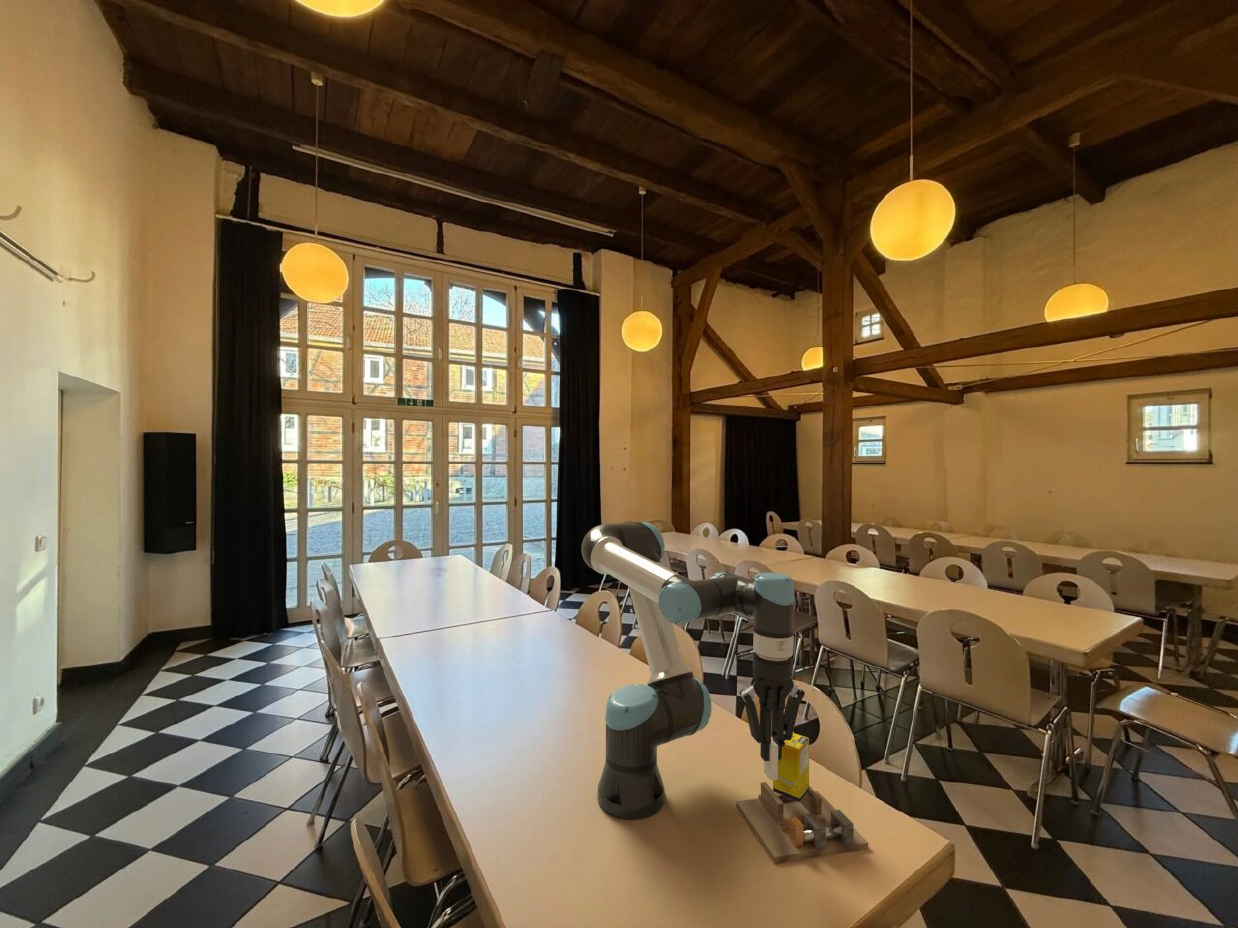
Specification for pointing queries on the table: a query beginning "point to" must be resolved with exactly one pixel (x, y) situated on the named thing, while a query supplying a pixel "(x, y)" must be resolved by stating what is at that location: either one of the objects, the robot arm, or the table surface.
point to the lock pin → (808, 832)
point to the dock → (813, 812)
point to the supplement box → (793, 768)
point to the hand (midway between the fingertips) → (770, 775)
